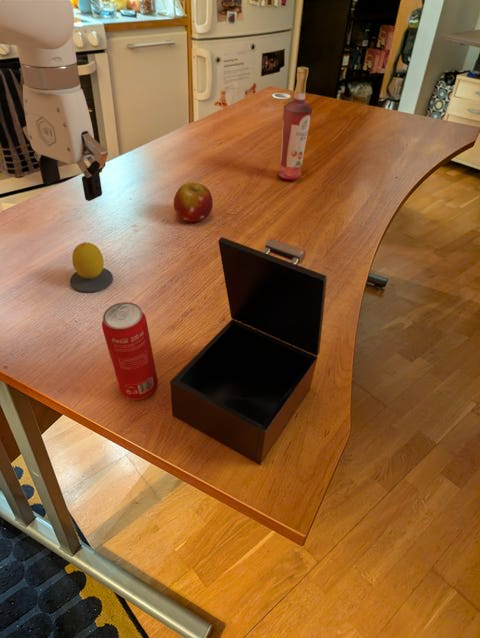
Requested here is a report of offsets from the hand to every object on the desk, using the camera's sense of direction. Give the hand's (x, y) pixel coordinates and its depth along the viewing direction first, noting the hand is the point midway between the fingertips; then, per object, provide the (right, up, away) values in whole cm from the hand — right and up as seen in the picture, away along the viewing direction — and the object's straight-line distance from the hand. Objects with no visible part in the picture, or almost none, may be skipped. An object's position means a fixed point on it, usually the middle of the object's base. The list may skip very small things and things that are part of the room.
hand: (72, 189), depth 77 cm
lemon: (-1, -14, +12) cm, 19 cm away
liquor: (+42, +18, +54) cm, 71 cm away
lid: (+32, -19, -15) cm, 40 cm away
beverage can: (+12, -32, -7) cm, 35 cm away
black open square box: (+28, -34, -8) cm, 45 cm away
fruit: (+17, +3, +34) cm, 38 cm away
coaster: (-1, -14, +13) cm, 19 cm away
